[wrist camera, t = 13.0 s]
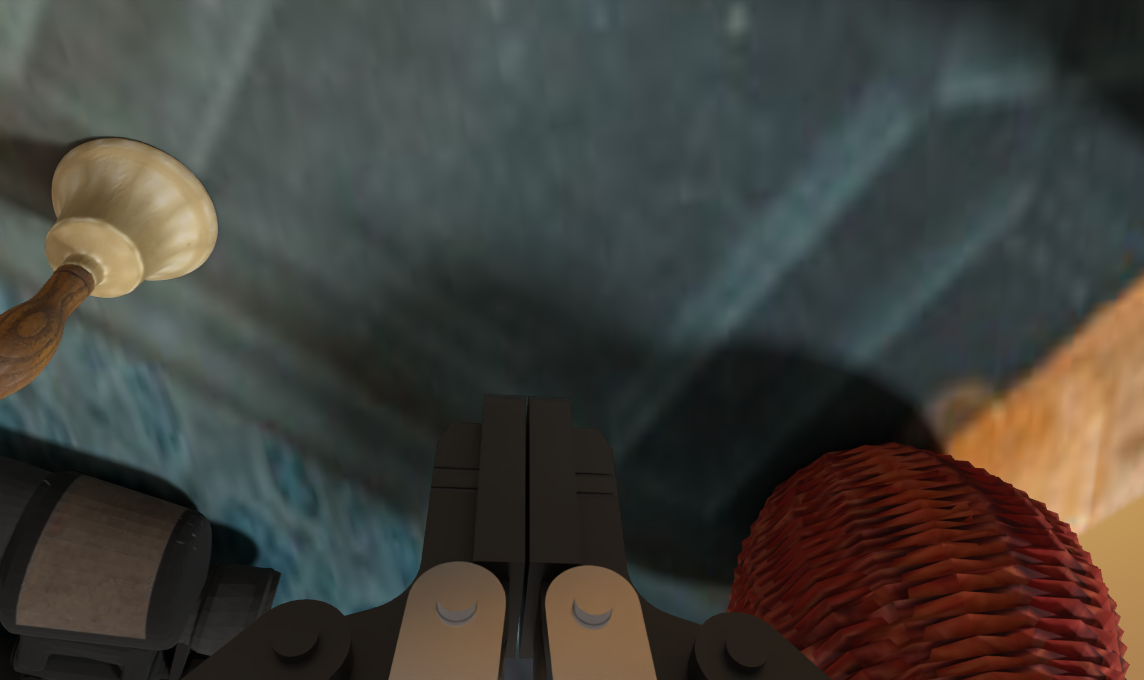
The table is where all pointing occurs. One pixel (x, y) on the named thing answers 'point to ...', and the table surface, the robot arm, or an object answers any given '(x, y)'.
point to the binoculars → (112, 581)
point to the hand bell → (107, 242)
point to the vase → (925, 574)
